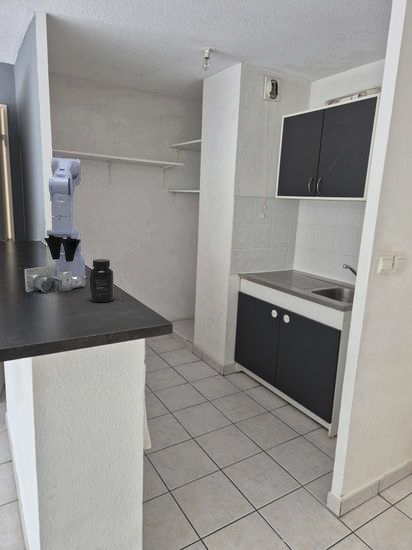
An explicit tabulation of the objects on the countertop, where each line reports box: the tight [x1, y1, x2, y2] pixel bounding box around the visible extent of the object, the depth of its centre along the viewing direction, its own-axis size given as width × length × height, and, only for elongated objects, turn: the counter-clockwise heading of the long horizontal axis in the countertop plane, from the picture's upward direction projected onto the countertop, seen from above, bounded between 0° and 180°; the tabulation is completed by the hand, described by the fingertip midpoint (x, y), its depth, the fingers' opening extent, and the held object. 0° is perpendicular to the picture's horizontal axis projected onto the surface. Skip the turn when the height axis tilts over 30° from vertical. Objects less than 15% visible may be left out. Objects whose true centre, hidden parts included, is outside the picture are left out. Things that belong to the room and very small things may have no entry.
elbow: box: [58, 270, 86, 292], centre depth 122 cm, size 8×4×6 cm, turn 143°
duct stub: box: [24, 265, 57, 294], centre depth 117 cm, size 6×8×7 cm
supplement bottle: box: [88, 258, 115, 303], centre depth 111 cm, size 7×7×12 cm
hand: (62, 260), depth 118 cm, fingers open, 7 cm apart
